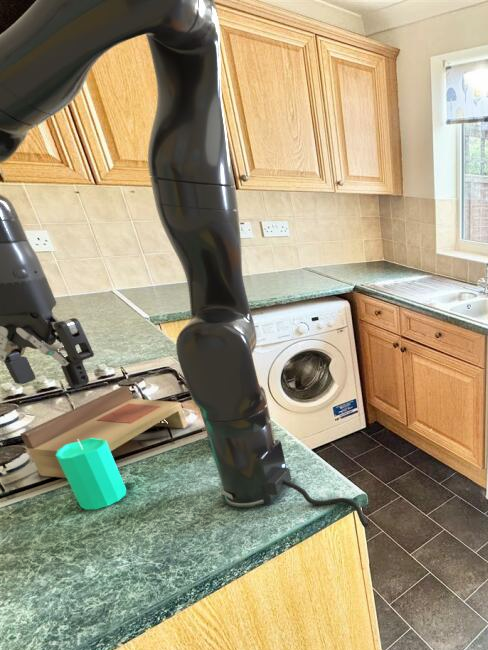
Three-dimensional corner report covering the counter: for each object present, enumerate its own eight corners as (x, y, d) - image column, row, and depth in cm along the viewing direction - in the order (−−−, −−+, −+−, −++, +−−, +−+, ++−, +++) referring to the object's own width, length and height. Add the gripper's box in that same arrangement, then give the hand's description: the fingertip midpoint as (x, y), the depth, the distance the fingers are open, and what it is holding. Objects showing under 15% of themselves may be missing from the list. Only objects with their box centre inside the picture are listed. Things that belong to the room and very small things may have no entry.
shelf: (187, 425, 94) (176, 390, 91) (103, 481, 76) (85, 439, 72) (136, 421, 95) (123, 385, 91) (41, 475, 77) (19, 433, 73)
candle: (130, 497, 73) (106, 439, 68) (83, 515, 69) (54, 454, 64) (122, 482, 76) (98, 425, 71) (77, 498, 72) (48, 439, 67)
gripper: (82, 274, 60) (120, 377, 66) (-13, 267, 60) (35, 370, 67) (23, 284, 53) (73, 398, 60) (-83, 277, 53) (-22, 391, 60)
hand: (53, 383), depth 63 cm, fingers open, 8 cm apart
